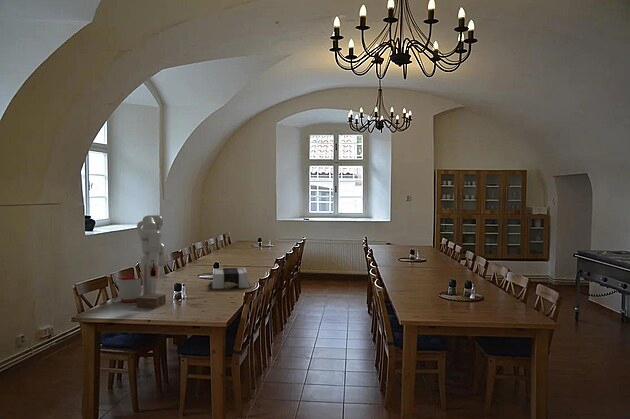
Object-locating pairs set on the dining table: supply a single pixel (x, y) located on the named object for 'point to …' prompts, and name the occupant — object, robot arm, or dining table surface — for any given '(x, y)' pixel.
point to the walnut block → (151, 301)
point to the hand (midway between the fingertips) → (154, 275)
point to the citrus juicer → (129, 288)
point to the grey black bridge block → (230, 278)
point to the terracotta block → (156, 272)
